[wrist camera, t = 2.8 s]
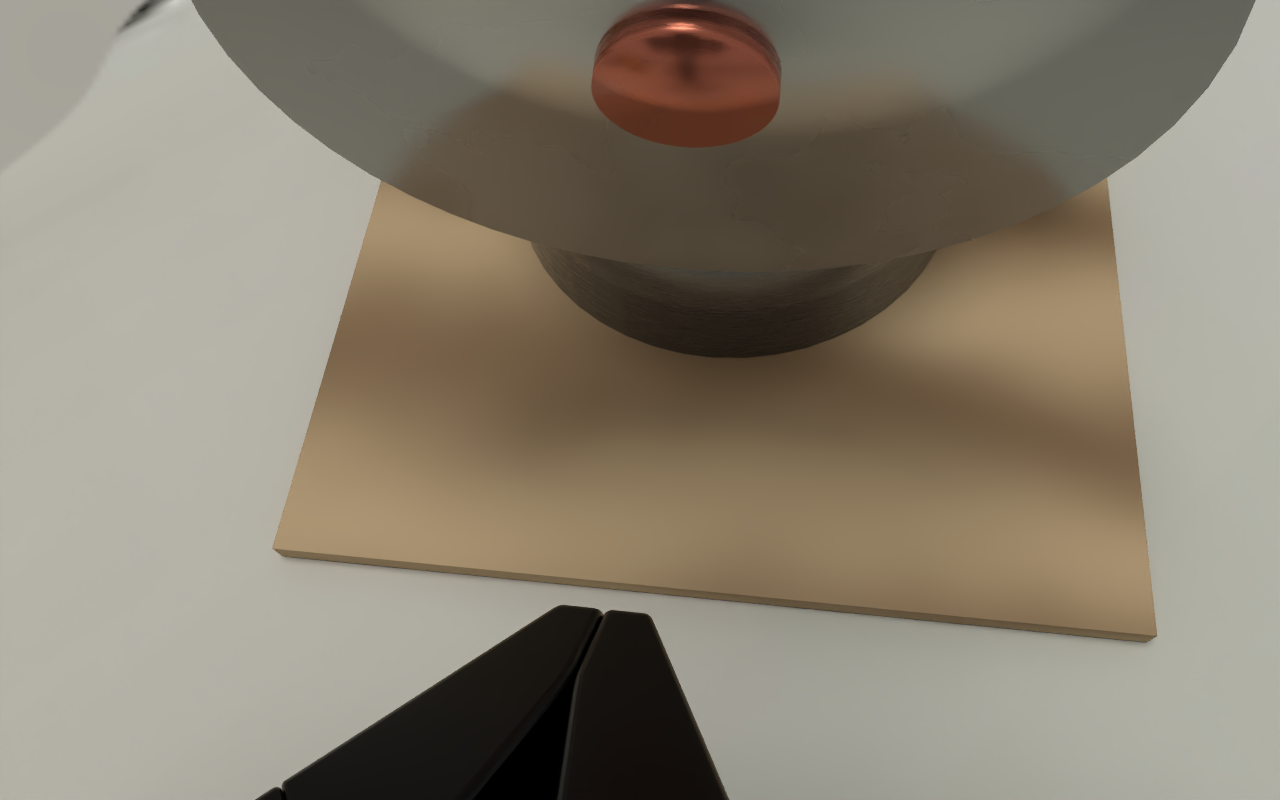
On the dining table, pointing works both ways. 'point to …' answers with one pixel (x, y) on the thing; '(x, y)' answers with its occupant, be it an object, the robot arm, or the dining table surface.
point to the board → (741, 437)
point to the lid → (734, 112)
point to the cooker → (729, 301)
